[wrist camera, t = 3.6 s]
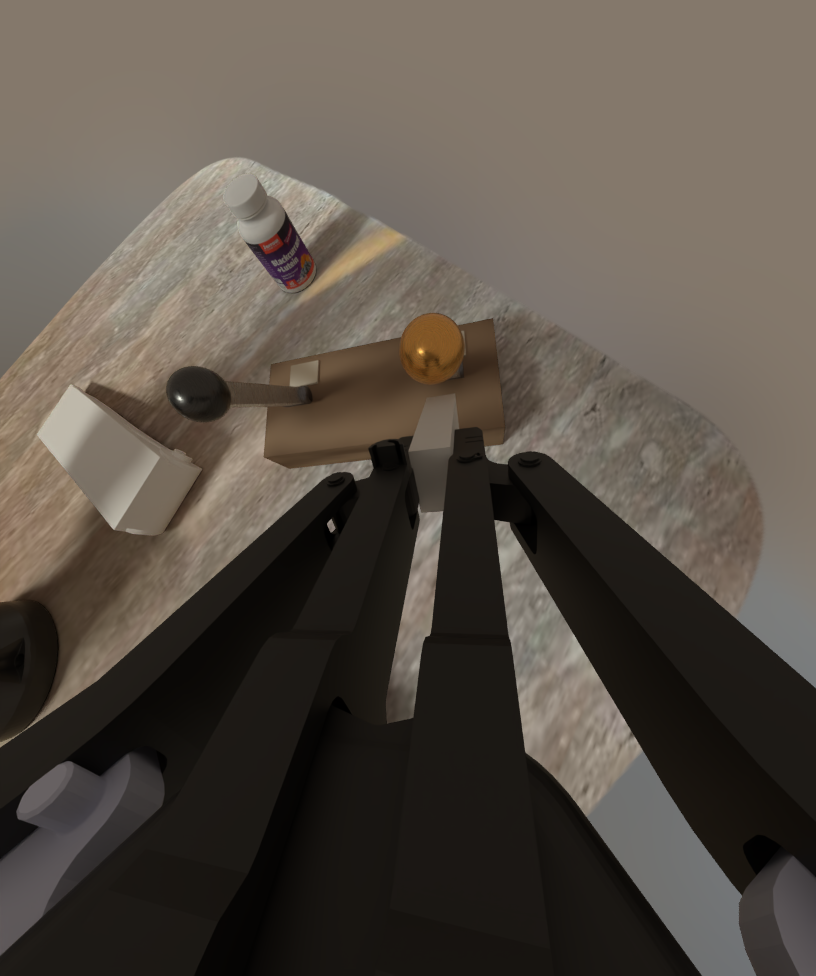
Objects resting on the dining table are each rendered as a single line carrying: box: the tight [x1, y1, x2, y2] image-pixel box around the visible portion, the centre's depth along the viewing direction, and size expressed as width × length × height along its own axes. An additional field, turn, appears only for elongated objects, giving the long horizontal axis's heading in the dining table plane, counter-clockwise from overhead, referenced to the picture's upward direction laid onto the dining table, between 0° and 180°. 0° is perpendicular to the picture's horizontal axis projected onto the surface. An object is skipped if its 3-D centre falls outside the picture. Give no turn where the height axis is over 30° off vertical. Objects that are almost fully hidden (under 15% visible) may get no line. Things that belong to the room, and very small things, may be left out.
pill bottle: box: [223, 173, 316, 293], centre depth 34 cm, size 5×5×10 cm
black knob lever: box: [166, 366, 313, 422], centre depth 23 cm, size 3×3×13 cm
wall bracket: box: [37, 384, 202, 535], centre depth 39 cm, size 10×7×28 cm
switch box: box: [264, 318, 505, 469], centre depth 29 cm, size 10×22×4 cm, turn 92°
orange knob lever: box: [399, 313, 465, 385], centre depth 20 cm, size 3×3×13 cm
